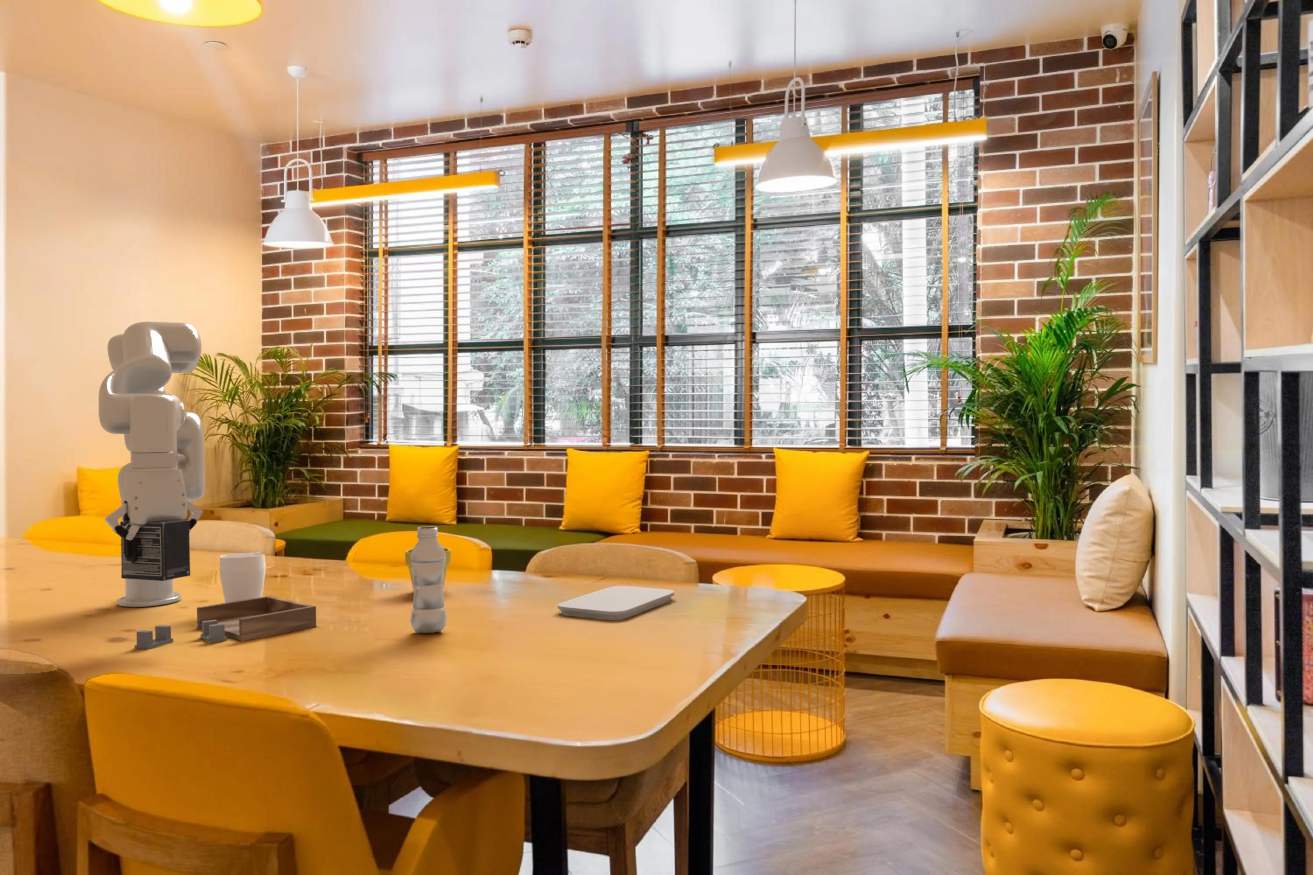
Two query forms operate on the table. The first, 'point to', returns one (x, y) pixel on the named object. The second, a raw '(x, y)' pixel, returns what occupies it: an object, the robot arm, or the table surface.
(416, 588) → the plastic bottle
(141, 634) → the clip
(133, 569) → the small box
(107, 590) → the table surface
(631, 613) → the tablet
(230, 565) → the cup
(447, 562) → the plant pot
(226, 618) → the holder
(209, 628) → the clip
